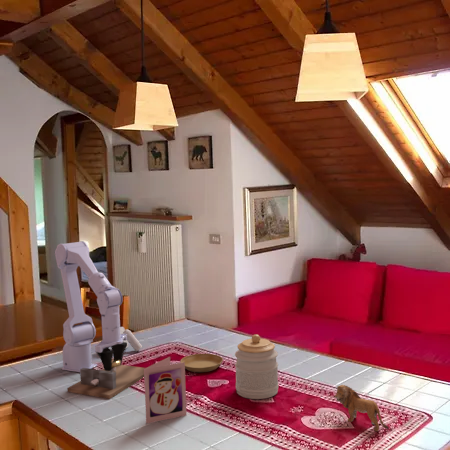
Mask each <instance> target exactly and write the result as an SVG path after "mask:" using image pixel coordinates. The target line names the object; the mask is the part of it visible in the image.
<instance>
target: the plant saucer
mask: <svg viewBox="0 0 450 450" xmlns="http://www.w3.org/2000/svg"><path fill="white" fill-rule="evenodd" d="M223 361H224V358H223V357H222V356H221V355H217V354H214V353H195V354H190V355H187V356H184V357H182V358H181V359H180V361H179V363H183V362H185V370H187V371H189V372H192V373H207V372H211V371H214V370H216V369H217V368H218V367H220V365H221V364H222V363H223Z"/></svg>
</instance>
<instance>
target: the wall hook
mask: <svg viewBox="0 0 450 450" xmlns="http://www.w3.org/2000/svg"><path fill="white" fill-rule="evenodd" d="M120 334H127V340H126V341H123V342H126V343H127V347H126V349H127V348H129V345H131V347H132V349H133V350H134V351H135V352H138V351H139V350H140V349H141V348H143V345H142V344H141V343H140V341H139V340H138V339H137V338H136V336H135V335H134V334H133V333H132V331H131V330H129V329H127V328H126V329H125V327H124V326H120Z"/></svg>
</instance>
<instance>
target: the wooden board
mask: <svg viewBox="0 0 450 450" xmlns="http://www.w3.org/2000/svg"><path fill="white" fill-rule="evenodd" d="M145 368H146V367H140V366H134V365H133V366H132V365H126V364H121V365H119V366H117V367H116V372H110V371H105V370H104V368H102V369H96V368H92V369H89V368H82V369H80V372H79V374H80V380H79V381H78V382H76V383H75V384H72V385H71V386H69V387H67V388H66V389H67V393H73V394H79V395H85V396H90V397H95V398H101V399H109V400H111V399H113V398H115V396H117V395H119V394H120V393H122V392H124V391H125V390H127V389H128V387H129V388H130V387H132V386H134V385H135V384H137V383H138V382H140V381H141V380H140V379H142V378H143V377H144V369H145ZM96 378H99V380H100V383H99V384H97V385H96V386H94V387H93V386H91V384H90V383H91V381H92V380H94V379H96ZM143 379H144V378H143ZM143 379H142V380H143ZM139 380H140V381H139ZM137 381H138V382H137ZM136 382H137V383H136ZM134 383H135V384H134ZM131 385H132V386H131Z"/></svg>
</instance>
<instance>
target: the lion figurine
mask: <svg viewBox="0 0 450 450" xmlns="http://www.w3.org/2000/svg"><path fill="white" fill-rule="evenodd" d="M334 398H335V399H336V401H337V402H339V403H340V404H342V405H343V407H344V408H345V409H347V410H348V415H349V418H347V421H348V422H349V423H350V422H353V421H354V420H355V418H357V413H362V414H365V413H366V414H367V416H368V418H369V419H370V421H371V424H372V425H374V427H373V431H375V432H378V431H379V430H380V425H379V422H380V423H381V426H382V427H383V428H385V429H386V430H387V429H388V430H389V426H388V425H387V424H385V423H384V422H383V420H382V419H383V418H382V416H381V412H380V409H379V406H378V404H377V403H376V402H375V401H374V400H372V399H371V400H370V399H364V398H362V397H360V395H359V394H358V393H357V391H355V390H353V388H352V387H350V386H348V385H345V384H341V385H338V386H337V389H336V394H335V395H334ZM377 416H378V417H377ZM378 419H379V420H378Z"/></svg>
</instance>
